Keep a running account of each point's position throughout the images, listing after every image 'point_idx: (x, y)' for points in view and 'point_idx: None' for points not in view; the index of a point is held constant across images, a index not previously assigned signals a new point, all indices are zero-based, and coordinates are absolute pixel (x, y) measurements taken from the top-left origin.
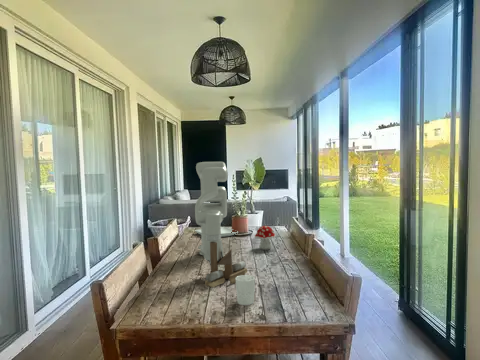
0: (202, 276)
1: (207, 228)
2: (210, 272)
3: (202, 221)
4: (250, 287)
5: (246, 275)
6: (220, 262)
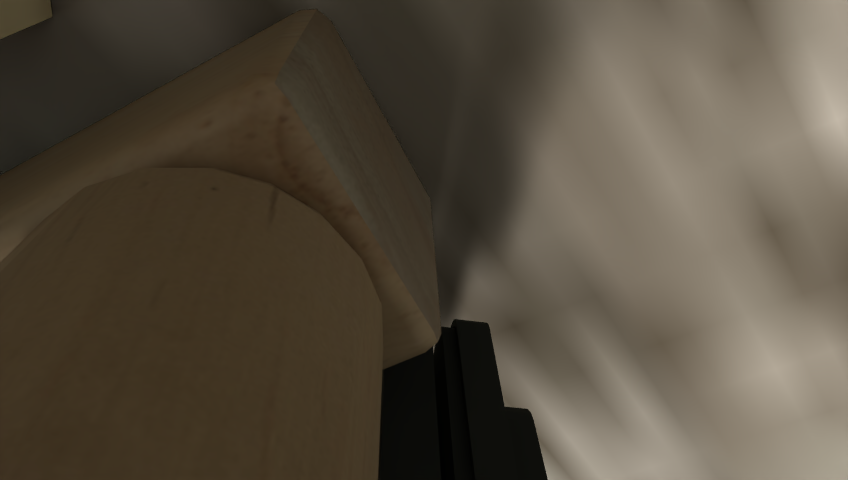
0: (729, 138)
1: None
2: (263, 83)
3: None
4: None
5: None
6: None
